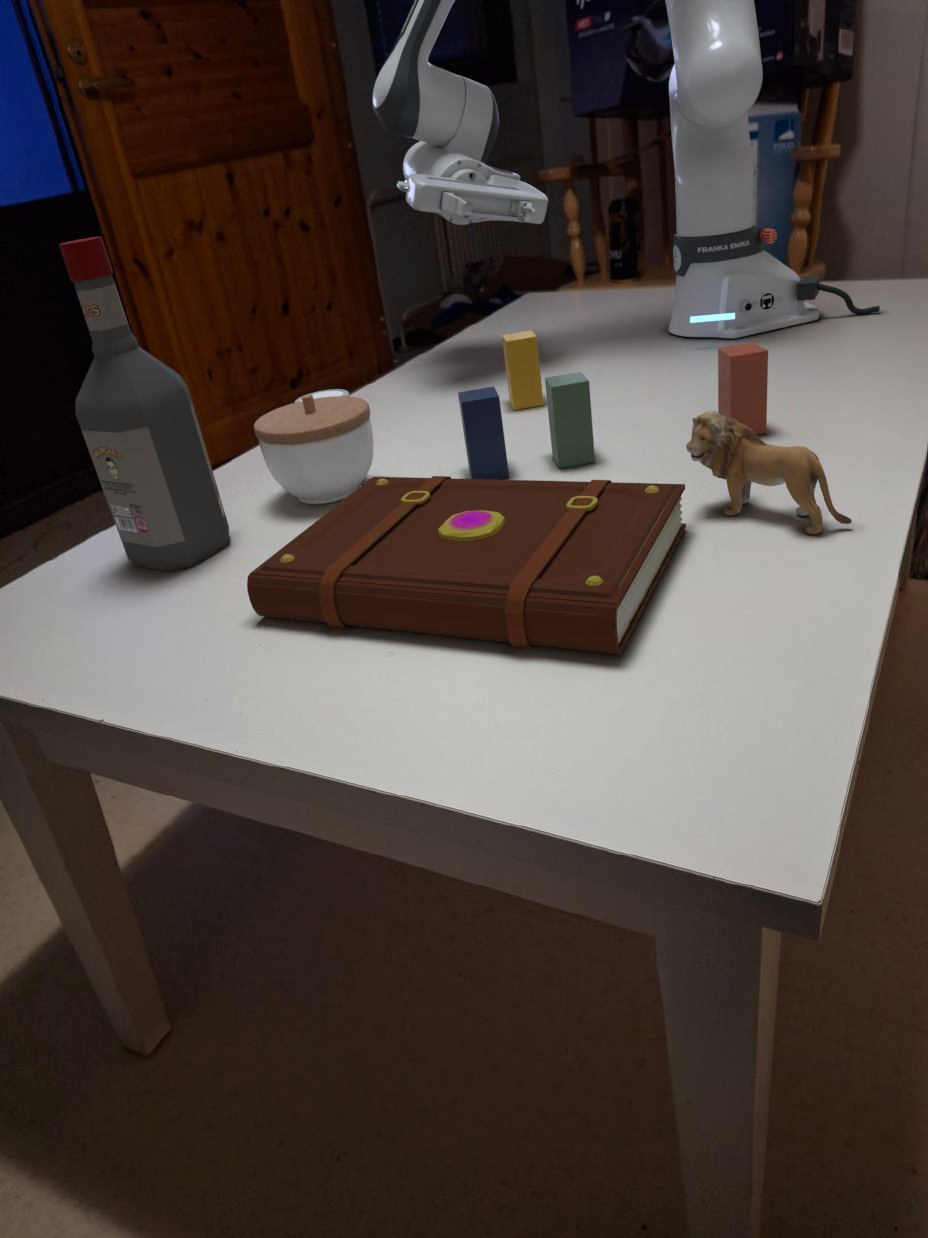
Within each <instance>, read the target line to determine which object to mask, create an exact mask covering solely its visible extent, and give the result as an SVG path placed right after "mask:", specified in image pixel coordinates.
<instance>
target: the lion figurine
mask: <svg viewBox="0 0 928 1238" xmlns="http://www.w3.org/2000/svg"><path fill="white" fill-rule="evenodd" d="M691 420H692V427H691V439H690V440H689V441H688V442H687V443H686V445H685V448H686V451H687V452H688V453H690V458H691V460H692V461H693V462H699V463H700V464H701V465H702V466H704V467H706V468H708V469H709V470H711V472H712V476H713V477H715V478H718V479H722V480H726V486H727V492H728V495H729V498H730V501H731V505H728V506H726V507H725V508H724V510H723V512H724V514H725V515H726V516H735V515H737V514H739V513H740V512H741V510H742V508H743V505H745V504H747V503H749V501H750V498H751V488H752V483H754V484H757V485H761V486H765V487H775V486H780V485H783V484H785V487H786V489H787V491H788V493H789V495H790V496H791V498H792V500H793V501H794V502H795V503H796V504H797V505H798V507H797V508H796V509H795V514H796V515H798V516H809V517H810V519H811V521H812V522H811V523H810V522H809V523H807V524H806V525H805V533H806V534H808V535H816V534H818V533H820V532H821V531H822V529H823V525H824V522H823V515H822V509H821V507H820V506H819V505H818V504H817V501H816V497H815V490H816V486H817V484H819V488H820V491H821V493H822V497H823V500H824V501H823V502H824V503H825V505H826V508H827V510H828V512H829V513H830V515H831V516H832V517H833V518H834V520H835V521H836V522H838V523H839V524H842V525H843V524H844V525H849V524H852V523H853V521H852V519H851V518H850V517H848V516H847V515H844V514H842V513H840V512H839V511H838V510H836V508H835V507H834V505H833V501H832V497H831V494H830V490H829V484H828V480H827V476H826V473H825V470H824V468H823V466H822V464H821V462H820V458H819V457H818V455H817V454H816V452H814V451H813V450H811V449H809V448H808V447H805V446H803V445H795V446H784V445H783V446H781V445H773V444H769V443H766V442H765V441H763V440H761V438H760V437H759V436H758V435H757V434H756V433H755V432H754V431H753V430H752V429H750V428H749V427H747V426H746V425H745V424H741V423H739V422H738V420H737V419H735V418H733V417H730V416H728V415H724V413H718V411H714V410H713V411H712V410H711V411H706V412H703V413H702V414H698V415H697V416H696V417H692V418H691Z"/></svg>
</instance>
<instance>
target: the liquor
mask: <svg viewBox="0 0 928 1238" xmlns="http://www.w3.org/2000/svg"><path fill="white" fill-rule="evenodd" d="M58 247H59V249H60V252H61V256H62V259H63V261H64V265H65V268H66V271H67V274H68V278H69V281H70V282H72V283H73V285H74V289H75V292H76V295H77V298H78V301H79V304H80V307H81V310H82V313H83V317H84V319H85V322H86V326H87V329H88V332H89V335H90V338H91V341H92V343H91V344H92V346H91V352H92V353H93V357H94V358H93V360H92V362H91V364H90V367H89V369H88V371H87V374H86V376H85V378H84V380H83V382H82V384H81V387H80V389H79V391H78V394H77V396H76V398H75V409H74V410H75V416H76V419H77V422H78V425H79V427H80V431H81V433H82V435H83V439H84V440H85V444H86V447H87V450H88V453H89V455H90V458H91V460H92V463H93V466H94V468H95V472H96V474H97V478H98V481H99V482H100V485H101V488H102V491H103V494H104V496H105V500H106V502H107V505H108V507H109V510H110V513H111V516H112V519H113V521H114V524H115V526H116V530H117V532H118V535H119V538H120V540H121V543H122V547H123V549H124V551H125V554H126V558H127V559H128V561H130V562H131V563H132V564H133V565H135V566H137V567H142V568H148V569H152V570H158V571H163V572H171V571H176V570H179V569H185V568H190V567H194V566H195V565H196V564H198V563H200V562H201V561H204V560H205V559H207V558H208V557H211V555H213V554H215V553H217V552H218V551H220V550H221V549H224V548H225V547H227V546H228V542H229V538H230V525H229V521H228V519H227V518H228V517H227V515H226V511H225V508H224V505H223V501H222V498H221V495H220V492H219V488H218V485H217V482H216V479H215V478H216V477H215V475H214V472H213V471H214V470H213V468H212V464H211V462H210V461H211V460H210V458H209V454H208V450H207V448H206V443H205V441H204V437H203V434H202V431H201V427H200V424H199V421H198V417H197V413H196V410H195V407H194V404H193V399H192V397H191V393H190V390H189V387H188V384H187V383H186V382H185V379H183V378H182V376H181V375H180V373H178V372H176V370H174V369H172V368H171V367H170V366H169V365H166V364H165V363H163V362H162V361H161V360H159V359H158V358H157V357H155V356H153V354H150V353H149V352H148V351H146V350H144V349H143V348H141V347H140V346H139V344H138V343H139V342H138V339H137V338H136V337H135V335H134V334H133V333H132V330H131V328H130V325H129V322H128V319H127V316H126V313H125V310H124V307H123V304H122V301H121V298H120V295H119V292H118V288H117V285H116V283H115V280H114V277H113V274H114V270H113V267H112V265H111V261H110V258H109V255H108V251H107V249H106V246H105V242H104V239H103V236H93V237H86V238H85V237H84V238H79V239H75V240H70V241H65V242H61V243H59V244H58Z"/></svg>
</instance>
